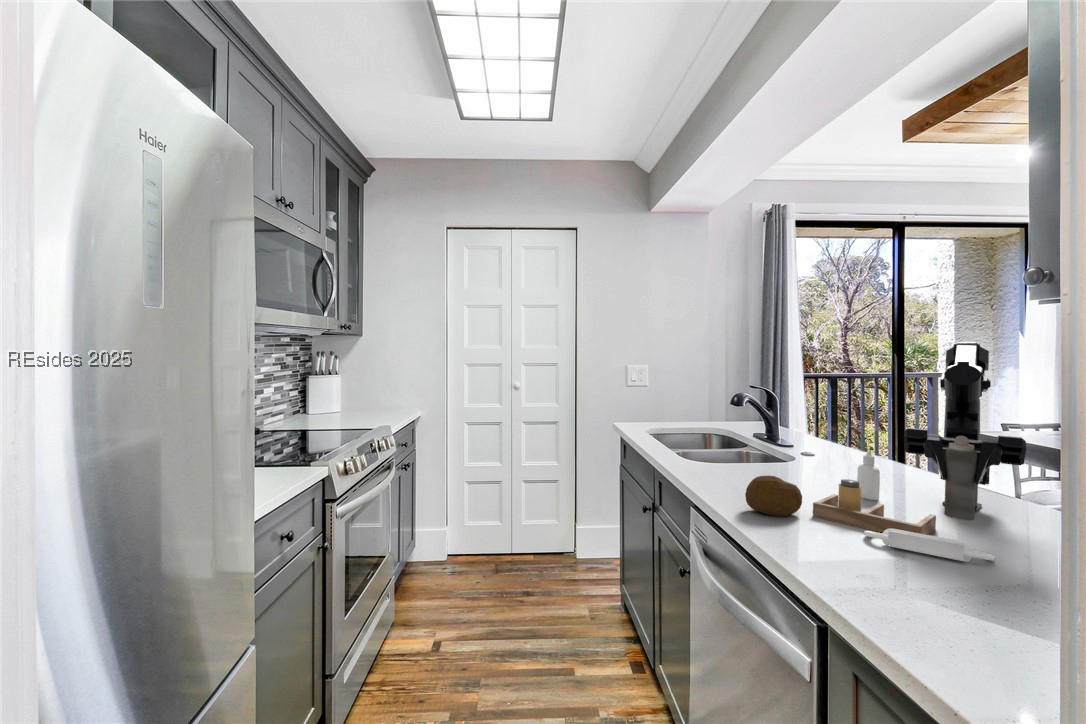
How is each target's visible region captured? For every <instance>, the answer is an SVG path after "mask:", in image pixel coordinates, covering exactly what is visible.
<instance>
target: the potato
mask: <svg viewBox="0 0 1086 724" xmlns="http://www.w3.org/2000/svg"><path fill="white" fill-rule="evenodd" d="M744 496H745V502H746V504H747V505H748V506H749V508H751V509H752V510H754V511H757V512H759V513H763V514H765V515H770V516H776V517H786V516H787V517H789V516H792V515H793V514H795V513H796V512H798V511H799V509H801V507H802V504H803V494H802V492H801V490H800V488H799V487H798V486H797V484H794V483H790V482H788V481H786V480H783V479H782V478H780V477H778V476H775V475H759V476H756V477H754V478H753V479H752V480H751V481H750V482H749V483H748V485H747V487H746V489H745V495H744Z"/></svg>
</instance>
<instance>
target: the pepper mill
mask: <svg viewBox="0 0 1086 724" xmlns="http://www.w3.org/2000/svg"><path fill="white" fill-rule="evenodd" d="M954 442H955V443H949V447H948V448H946V478H945V480H944V481H945V482H944V501H945V505H944V513H943V514H944V515H945V516H946V517H949V518H953V519H956V520H962V521H963V520H964V521H973V520H976V519H975V518H976V517H975V516H976V511H975V494H976V460H977V451H976V450H974V445H971V444H969V440H968V439H967V438H966V437H965V436H957V437H956V438H955V440H954Z"/></svg>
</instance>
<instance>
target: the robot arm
mask: <svg viewBox="0 0 1086 724" xmlns="http://www.w3.org/2000/svg"><path fill="white" fill-rule="evenodd" d="M989 359H990V351H989V350H987V349H985V348H984V347H982V346H981V342H977V341H957V342H954V343H953V346H952V347H951V348H949V349H947V350H946V351H945V371H944V374H943V373H942V374H941V376H940V379H939V380H940V384H939V385H940V390H941V391H944V396H945V407H944V425H943V436H941V435H939V434H934V433H929V430H928V429H925V428H914V427H912V428H911V427H907V428H906V429H904V431H903V444H904V452H906V453H907V454H912V455H921V456H924V457H925V458H927V459H931V460H933V461H934V464H935V465H936V467H937V470H938V472H939V474H940V480H942V481H945V478H946V448H948V447H949V443H955V442H954V440H955V438H956V437H957V436H965V437H966V438H967V439H968V440H969V444H971V445H974V450H976V451H977V460H976V494H975V512H977V511H978V510H979V509H980V508H981V507H983V505H982V503H979V502H978V496H979V494H978V493H979V491H978V490H979V485H982V486H986V485H989V484H990V471H991V469H990V467H992V466H1000V465H1001V464H1004V465H1010V466H1023V465H1025V461H1026V460H1025V459H1026V453H1027V452H1026V451H1027V441H1026V440H1025V439H1024V438H1023V437H1021V436H1009V435H997V442H990V441H989V442H988V441H983V440H981V399H980V398H981V397H982V396H983V393H987V391H988V390H989V388H991V380H990V379H989V378H988V375H985V373H986V372H987V371H989V366H990V365H989V362H990V361H989ZM941 504H942V505H943V506H945V500H944V501H943V502H942V503H941Z"/></svg>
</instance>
